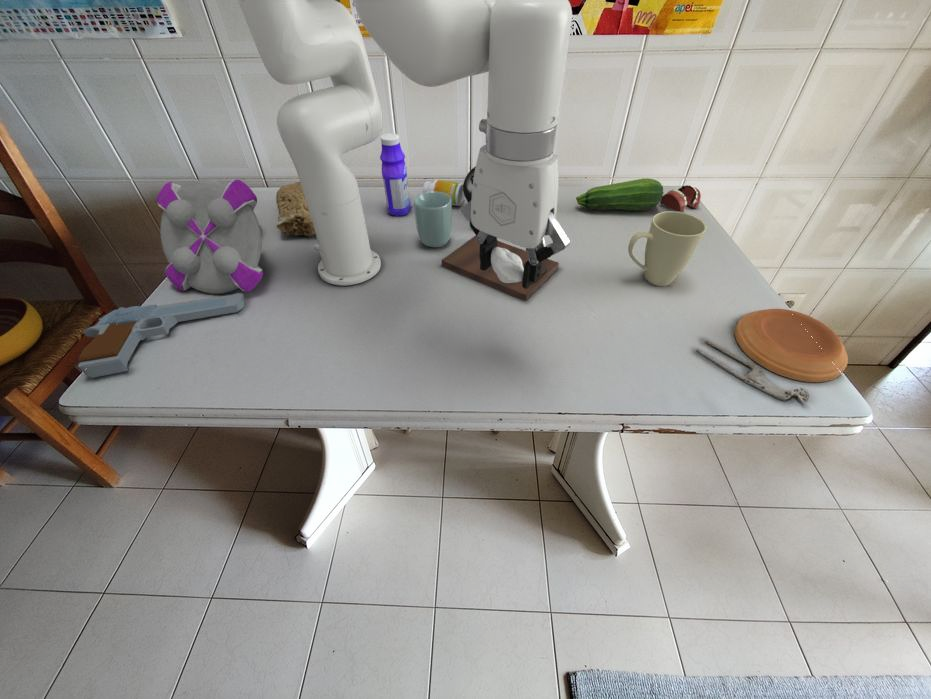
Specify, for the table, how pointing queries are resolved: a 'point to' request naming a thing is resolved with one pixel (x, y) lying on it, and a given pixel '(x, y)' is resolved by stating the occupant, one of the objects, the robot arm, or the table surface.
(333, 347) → the table surface
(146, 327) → the handgun
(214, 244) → the toy
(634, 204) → the vegetable
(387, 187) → the bottle
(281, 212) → the sponge
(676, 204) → the dentures
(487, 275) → the bread board
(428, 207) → the cup
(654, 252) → the mug
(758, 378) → the nutcracker
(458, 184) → the supplement bottle
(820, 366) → the saucer
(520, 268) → the dumpling
